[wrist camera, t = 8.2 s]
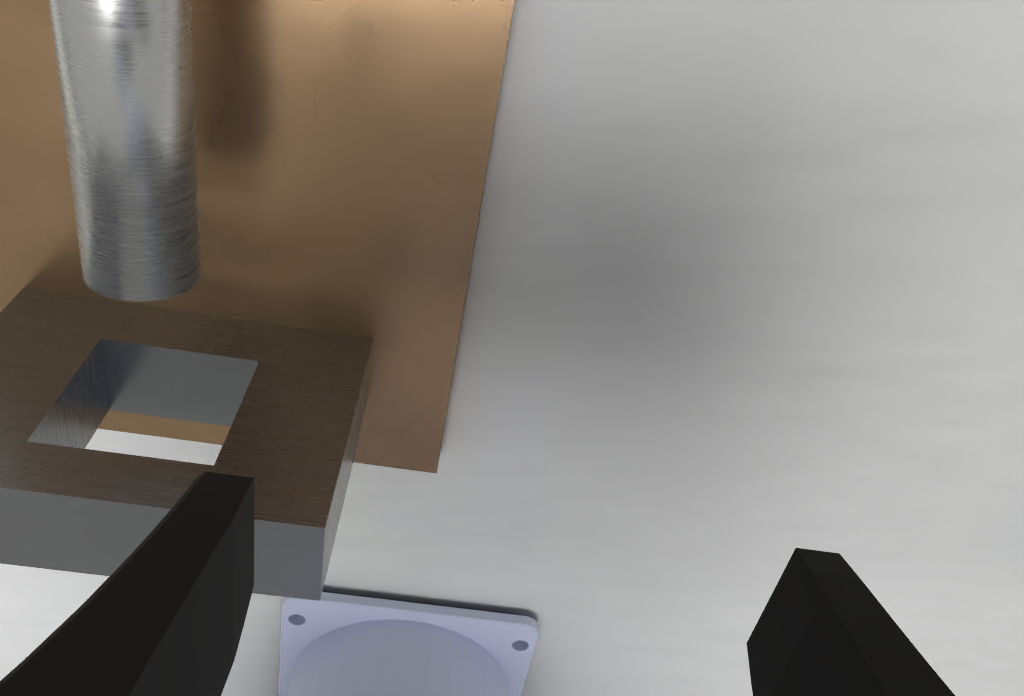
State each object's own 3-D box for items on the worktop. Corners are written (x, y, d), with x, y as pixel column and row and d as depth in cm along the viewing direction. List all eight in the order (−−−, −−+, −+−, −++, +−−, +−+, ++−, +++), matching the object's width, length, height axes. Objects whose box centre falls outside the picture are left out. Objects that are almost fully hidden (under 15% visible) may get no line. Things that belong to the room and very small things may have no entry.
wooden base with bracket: (439, 453, 24) (412, 675, 18) (-20, 391, 22) (-203, 606, 17) (579, -404, 14) (623, -522, 8) (-236, -589, 12) (-875, -883, 7)
